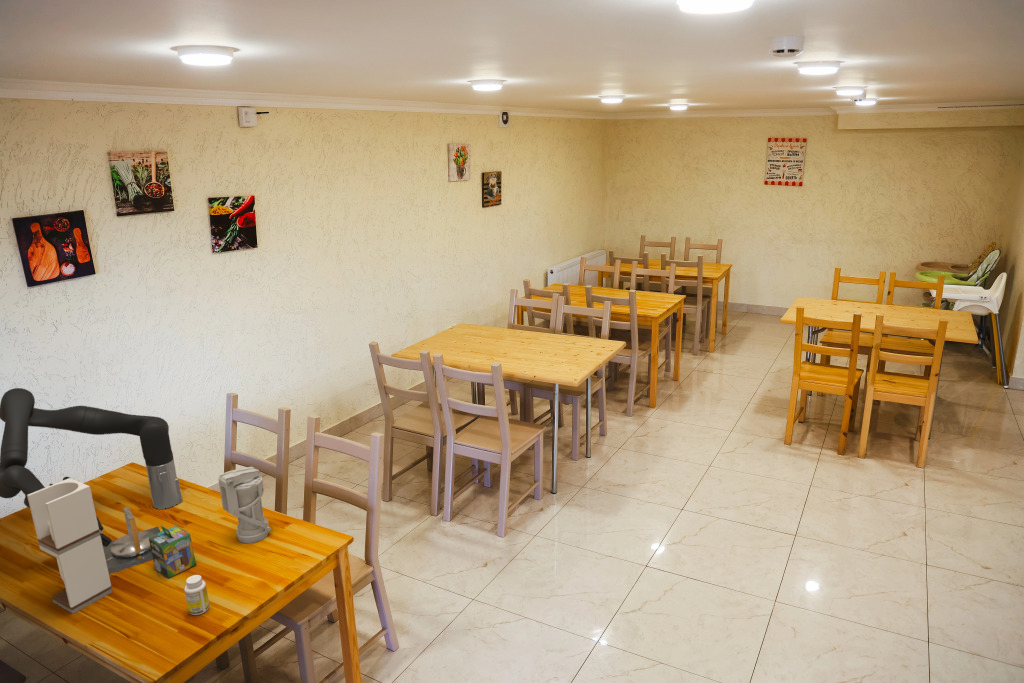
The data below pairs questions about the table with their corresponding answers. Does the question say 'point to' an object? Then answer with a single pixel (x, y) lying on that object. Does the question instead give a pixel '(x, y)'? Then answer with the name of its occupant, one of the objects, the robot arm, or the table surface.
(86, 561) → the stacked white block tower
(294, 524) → the table surface
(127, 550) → the dial
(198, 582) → the supplement bottle
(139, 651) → the table surface
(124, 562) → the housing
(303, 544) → the table surface
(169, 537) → the chalk box
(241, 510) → the gray strapped canister
